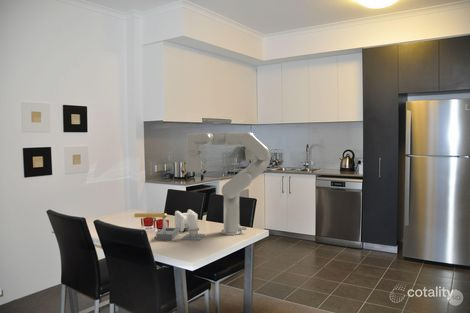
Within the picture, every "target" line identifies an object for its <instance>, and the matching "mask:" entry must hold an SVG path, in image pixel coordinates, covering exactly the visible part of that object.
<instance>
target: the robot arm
mask: <svg viewBox="0 0 470 313" xmlns="http://www.w3.org/2000/svg"><path fill="white" fill-rule="evenodd" d="M186 138H187V140H186V141H187V155H186V156H185V164H183V166H180V167H179V170H180V172H181V173H182V174H183V177H184V178H183V179H184V181H185V182H188V173H200V181H201V182H203V181H204V175H205V173H206V172H207V171H208V169H209V167H208V166H206V165H203V159H202V158H203V157H202V155H201V154H203V151H201V150H200V149H201V146H225V147H244V148H245V149H246V150H247V151H248V152H249V153H250V154H251V155H252V156H253V157H254V158H255V159H254V161H252V162H251V163H250V164H249V165H248V166H247V167H245V168H244V169H242V170H240V171H239V172H238V173H237V174H236V175H234V176H233V177H232V178H230V179H229V180H228V181H227V182H225V183H224V184H223V186H222V187H221V195H222V196H223V229H221V231H220V233H221V234H223V235H226V236H235V235H241V234H242V231H247V227H246V226H241V224H240V195H241V194H240V193H242V192H243V191H244V190H245V189H247V188H248V187H249V186H250V185H251V184H252V183H253V182H254V180H256V178H258V177H259V176H260V175H261V174H263V173H264V171H266V169H267V168H268V167H269V164H270V161H271V153H270V150H269V147H267V146H266V145H264V144H263V143H262V142H261V141H260V140H259V139H257V138H256V136H255V134H253V133H252V132H250V131H249V132H248V131H242V132H241V131H227V132H200V133H198V132H197V133H196V132H194V133H193V132H192V133H191V132H190V133H188V134H187V137H186ZM184 168H185V169H184ZM203 169H204V171H203ZM184 170H185V171H184Z"/></svg>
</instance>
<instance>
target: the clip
mask: <svg viewBox="0 0 470 313" xmlns="http://www.w3.org/2000/svg"><path fill="white" fill-rule="evenodd" d="M167 216H168V214H167V213H165V212H163V213H161V212H160V213H159V212H157V213H156V212H155V213H153V212H152V213H151V212H150V213H149V212H148V213H147V212H145V213H144V212H143V213H139V212H136V213H134V218H163V217H166V218H167Z"/></svg>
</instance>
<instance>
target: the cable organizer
mask: <svg viewBox="0 0 470 313" xmlns="http://www.w3.org/2000/svg"><path fill="white" fill-rule="evenodd" d="M191 213H196V212H195V211H194V210H192V209H187V212H183V213H182V212H181V211H179V210H175V212H174V225H175V226H174V228H179V233H182V232H184V230H185V229H188V228H189V214H191Z"/></svg>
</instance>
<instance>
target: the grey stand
mask: <svg viewBox="0 0 470 313" xmlns="http://www.w3.org/2000/svg"><path fill="white" fill-rule="evenodd" d="M166 218H167V217H162V228H161V230H160V231H158V232H157V233H156V234H155V235H156V236H155V239H156V241H173V240H174V239H175V238H176V237H177V236H178V235H179V234H180V231H179V228H176V227H167V225H166V223H167V222H166Z"/></svg>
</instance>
